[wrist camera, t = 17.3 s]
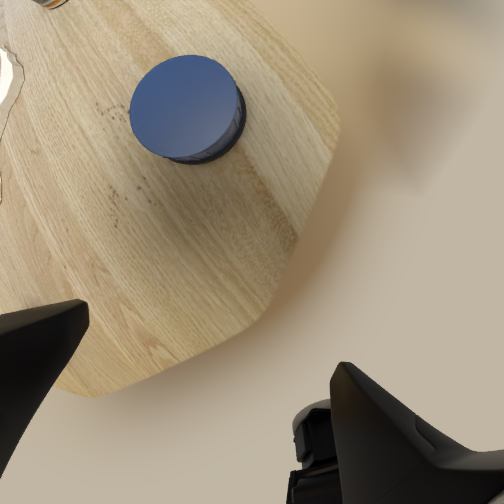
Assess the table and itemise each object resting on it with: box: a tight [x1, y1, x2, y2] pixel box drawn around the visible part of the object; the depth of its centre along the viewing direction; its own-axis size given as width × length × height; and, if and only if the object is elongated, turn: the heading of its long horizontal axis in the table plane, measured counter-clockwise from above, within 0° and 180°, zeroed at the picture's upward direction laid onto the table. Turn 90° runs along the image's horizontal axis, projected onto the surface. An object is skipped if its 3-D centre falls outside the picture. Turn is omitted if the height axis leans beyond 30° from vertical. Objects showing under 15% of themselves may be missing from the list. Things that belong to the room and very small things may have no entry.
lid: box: [130, 55, 242, 162], centre depth 15 cm, size 7×7×3 cm
